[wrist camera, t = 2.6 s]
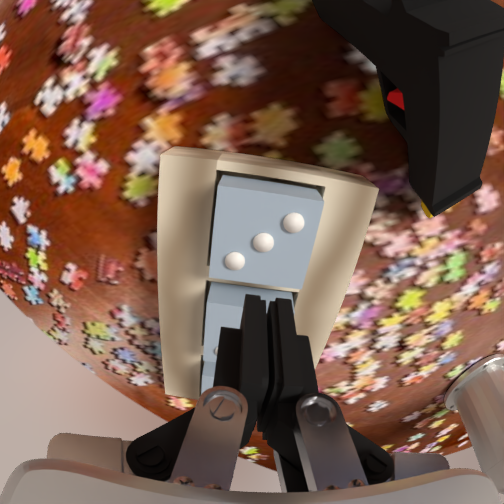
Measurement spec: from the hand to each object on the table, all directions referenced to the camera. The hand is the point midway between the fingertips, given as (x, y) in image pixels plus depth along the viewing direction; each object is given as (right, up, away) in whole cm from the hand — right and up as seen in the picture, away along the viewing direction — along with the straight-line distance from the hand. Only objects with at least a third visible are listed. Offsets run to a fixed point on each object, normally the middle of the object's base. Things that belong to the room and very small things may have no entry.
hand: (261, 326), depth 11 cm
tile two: (-1, -2, +13) cm, 13 cm away
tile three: (0, +5, +9) cm, 10 cm away
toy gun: (+10, +16, +7) cm, 20 cm away
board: (-1, -1, +15) cm, 15 cm away
